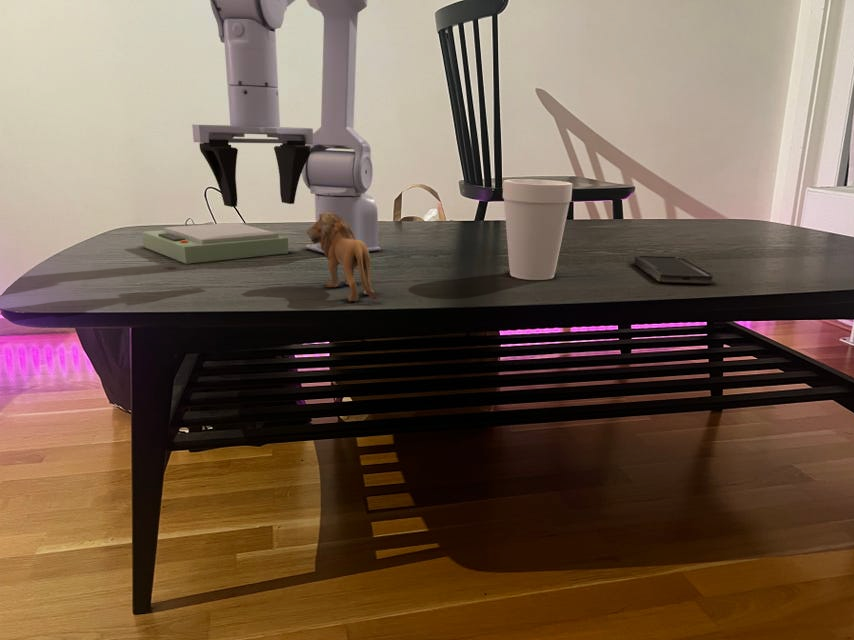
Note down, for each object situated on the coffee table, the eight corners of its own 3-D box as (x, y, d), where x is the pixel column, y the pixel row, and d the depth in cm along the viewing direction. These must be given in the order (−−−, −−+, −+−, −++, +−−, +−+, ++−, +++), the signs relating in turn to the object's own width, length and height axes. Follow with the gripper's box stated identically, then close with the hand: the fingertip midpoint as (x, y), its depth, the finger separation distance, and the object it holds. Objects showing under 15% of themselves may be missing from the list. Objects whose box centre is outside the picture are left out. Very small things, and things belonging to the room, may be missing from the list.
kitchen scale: (240, 239, 120) (239, 221, 119) (288, 253, 109) (287, 233, 108) (143, 247, 109) (141, 227, 108) (186, 263, 98) (184, 242, 97)
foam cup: (557, 285, 95) (564, 186, 90) (491, 278, 97) (496, 182, 93) (569, 272, 103) (577, 181, 99) (509, 266, 106) (513, 178, 101)
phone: (681, 257, 112) (715, 276, 98) (680, 264, 113) (714, 284, 99) (632, 255, 112) (660, 274, 98) (632, 262, 112) (659, 282, 98)
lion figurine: (304, 281, 91) (301, 211, 88) (341, 277, 94) (340, 209, 91) (357, 306, 80) (356, 227, 77) (398, 301, 83) (398, 224, 80)
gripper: (207, 82, 75) (217, 211, 79) (324, 90, 85) (328, 205, 89) (180, 83, 80) (191, 204, 84) (295, 91, 89) (299, 199, 94)
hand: (260, 204), depth 87 cm, fingers open, 7 cm apart
